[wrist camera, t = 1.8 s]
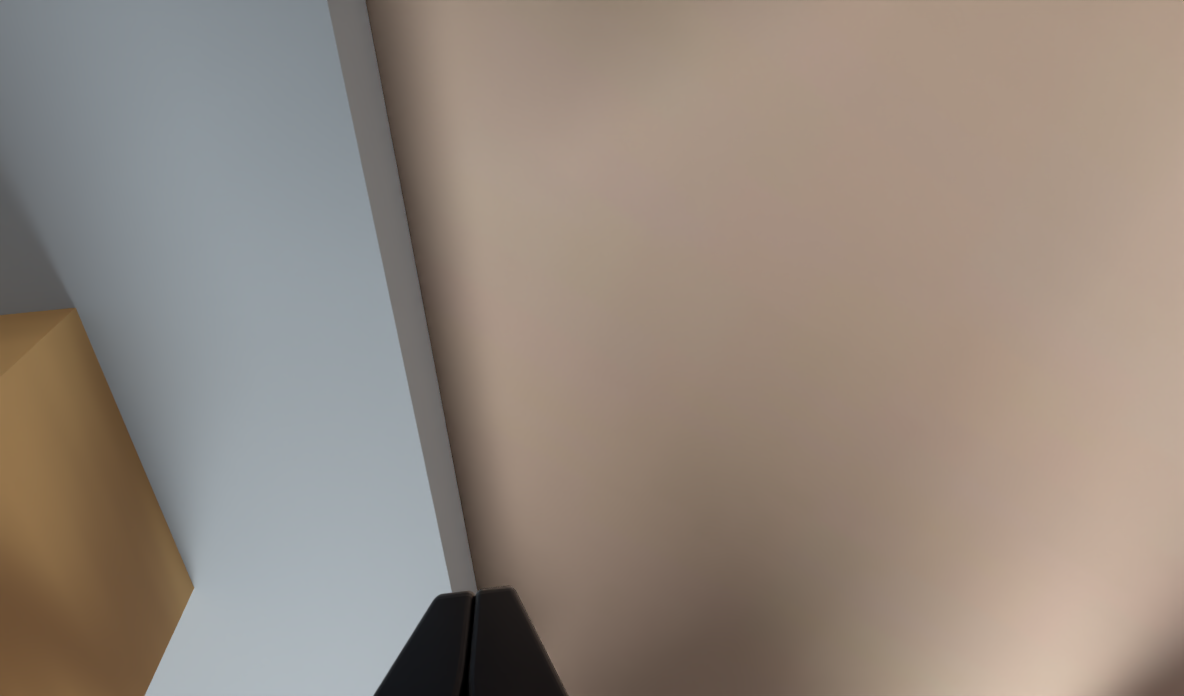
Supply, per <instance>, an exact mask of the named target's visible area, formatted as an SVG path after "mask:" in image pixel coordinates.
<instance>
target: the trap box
mask: <svg viewBox="0 0 1184 696" xmlns="http://www.w3.org/2000/svg"><path fill="white" fill-rule="evenodd" d="M67 308H76V310H77V312H78V314H79V317H80V319H81V321H82V324H83V326H84V329H85V331H86V333H87V336H88V338H89V340H90V343H91V345H92V347H93V350H94V352H95V355H96V357H97V359H98V362H99V364H100V366H101V369H102V371H103V373H104V376H105V378H106V381H107V383H108V385H109V388H110V390H111V392H112V395H113V397H114V399H115V402H116V404H117V407H118V409H119V411H120V414H121V416H122V418H123V421H124V423H125V425H126V428H127V430H128V433H129V435H130V437H131V440H132V442H133V444H134V447H135V449H136V451H137V454H138V456H139V458H140V461H141V463H142V466H143V468H144V470H145V473H146V475H147V477H148V480H149V482H150V484H151V487H152V489H153V492H154V494H155V496H156V499H157V501H158V503H159V506H160V508H161V510H162V513H163V515H164V518H165V520H166V522H167V525H168V527H169V529H170V532H171V534H172V536H173V539H174V541H175V544H176V546H177V548H178V551H179V553H180V555H181V558H182V560H183V562H184V565H185V567H186V570H187V572H188V574H189V577H190V579H191V581H192V584H193V586H194V590H193V592H192V594H191V596H190V598H189V601H188V603H187V605H186V607H185V609H184V611H183V614H182V616H181V618H180V620H179V622H178V624H177V627H176V629H175V631H174V633H173V635H172V637H171V640H170V642H169V644H168V646H167V648H166V650H165V653H164V655H163V657H162V659H161V661H160V663H159V666H158V668H157V670H156V672H155V674H154V676H153V679H152V681H151V683H150V685H149V687H148V689H147V692H146V694H145V696H373V695H374V694H375V692H376V690H377V689H378V687H379V686H380V684H381V682H382V681H383V679H384V678H385V676H386V674H387V673H388V671H389V670H390V668H391V666H392V665H393V663H394V662H395V660H396V658H397V657H398V655H399V654H400V652H401V651H402V649H403V647H404V646H405V644H406V643H407V641H408V639H409V638H410V636H411V635H412V633H413V631H414V630H415V628H416V627H417V625H418V623H419V622H420V620H421V619H422V617H423V615H424V614H425V612H426V611H427V609H428V607H429V606H430V604H431V603H432V601H433V600H434V598H435V597H436V596H438V595H440V594H444V593H452V592H460V591H472V592H473V593H474V594H475V595H476V593H477V592H478V591H477V586H476V581H475V575H474V570H473V565H472V559H471V554H470V549H469V544H468V538H467V533H466V528H465V523H464V517H463V512H462V507H461V501H460V496H459V491H458V486H457V480H456V475H455V470H454V465H453V459H452V454H451V449H450V443H449V438H448V433H447V428H446V422H445V417H444V412H443V407H442V401H441V396H440V391H439V385H438V380H437V375H436V370H435V364H434V359H433V354H432V349H431V343H430V338H429V333H428V327H427V322H426V317H425V312H424V306H423V301H422V296H421V291H420V285H419V280H418V275H417V269H416V264H415V259H414V254H413V248H412V243H411V238H410V233H409V227H408V222H407V217H406V211H405V206H404V201H403V196H402V190H401V185H400V180H399V175H398V169H397V164H396V159H395V153H394V148H393V143H392V138H391V132H390V127H389V122H388V117H387V111H386V106H385V101H384V95H383V90H382V85H381V80H380V74H379V69H378V64H377V59H376V53H375V48H374V43H373V37H372V32H371V27H370V22H369V16H368V11H367V6H366V1H365V0H0V315H7V314H17V313H27V312H37V311H47V310H57V309H67Z"/></svg>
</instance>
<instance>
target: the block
mask: <svg viewBox="0 0 1184 696" xmlns="http://www.w3.org/2000/svg"><path fill="white" fill-rule="evenodd" d="M193 590H194V586H193V584H192V581H191V579H190V577H189V574H188V572H187V570H186V567H185V565H184V562H183V560H182V558H181V555H180V553H179V551H178V548H177V546H176V544H175V541H174V539H173V536H172V534H171V532H170V529H169V527H168V525H167V522H166V520H165V518H164V515H163V513H162V510H161V508H160V506H159V503H158V501H157V499H156V496H155V494H154V492H153V489H152V487H151V484H150V482H149V480H148V477H147V475H146V473H145V470H144V468H143V466H142V463H141V461H140V458H139V456H138V454H137V451H136V449H135V447H134V444H133V442H132V440H131V437H130V435H129V433H128V430H127V428H126V425H125V423H124V421H123V418H122V416H121V414H120V411H119V409H118V407H117V404H116V402H115V399H114V397H113V395H112V392H111V390H110V388H109V385H108V383H107V381H106V378H105V376H104V373H103V371H102V369H101V366H100V364H99V362H98V359H97V357H96V355H95V352H94V350H93V347H92V345H91V343H90V340H89V338H88V336H87V333H86V331H85V329H84V326H83V324H82V321H81V319H80V317H79V314H78V312H77V310H76V308H67V309H57V310H47V311H37V312H27V313H17V314H7V315H0V696H145V694H146V692H147V689H148V687H149V685H150V683H151V681H152V679H153V676H154V674H155V672H156V670H157V668H158V666H159V663H160V661H161V659H162V657H163V655H164V653H165V650H166V648H167V646H168V644H169V642H170V640H171V637H172V635H173V633H174V631H175V629H176V627H177V624H178V622H179V620H180V618H181V616H182V614H183V611H184V609H185V607H186V605H187V603H188V601H189V598H190V596H191V594H192V592H193Z"/></svg>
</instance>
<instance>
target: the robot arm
mask: <svg viewBox="0 0 1184 696" xmlns="http://www.w3.org/2000/svg"><path fill="white" fill-rule="evenodd" d="M373 696H568V694H567V692H566V690H565V688H564V686H563V684H562V682H561V680H560V678H559V676H558V674H557V672H556V670H555V668H554V666H553V664H552V662H551V660H550V658H549V656H548V654H547V652H546V650H545V648H544V646H543V644H542V642H541V640H540V638H539V636H538V634H537V632H536V630H535V628H534V626H533V624H532V622H531V620H530V618H529V616H528V614H527V612H526V610H525V608H524V606H523V604H522V602H521V600H520V598H519V596H518V594H517V592H516V590H515V589H514V588H513V587H511V586H502V587H493V588H485V589H480V590H479V591H478V592H477V593H476V595H475V594H474V593H473V592H472V591H460V592H452V593H444V594H440V595H438V596H436V597H435V598H434V600H433V601H432V603H431V604H430V606H429V607H428V609H427V611H426V612H425V614H424V615H423V617H422V619H421V620H420V622H419V623H418V625H417V627H416V628H415V630H414V631H413V633H412V635H411V636H410V638H409V639H408V641H407V643H406V644H405V646H404V647H403V649H402V651H401V652H400V654H399V655H398V657H397V658H396V660H395V662H394V663H393V665H392V666H391V668H390V670H389V671H388V673H387V674H386V676H385V678H384V679H383V681H382V682H381V684H380V686H379V687H378V689H377V690H376V692H375V694H374V695H373Z"/></svg>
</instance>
